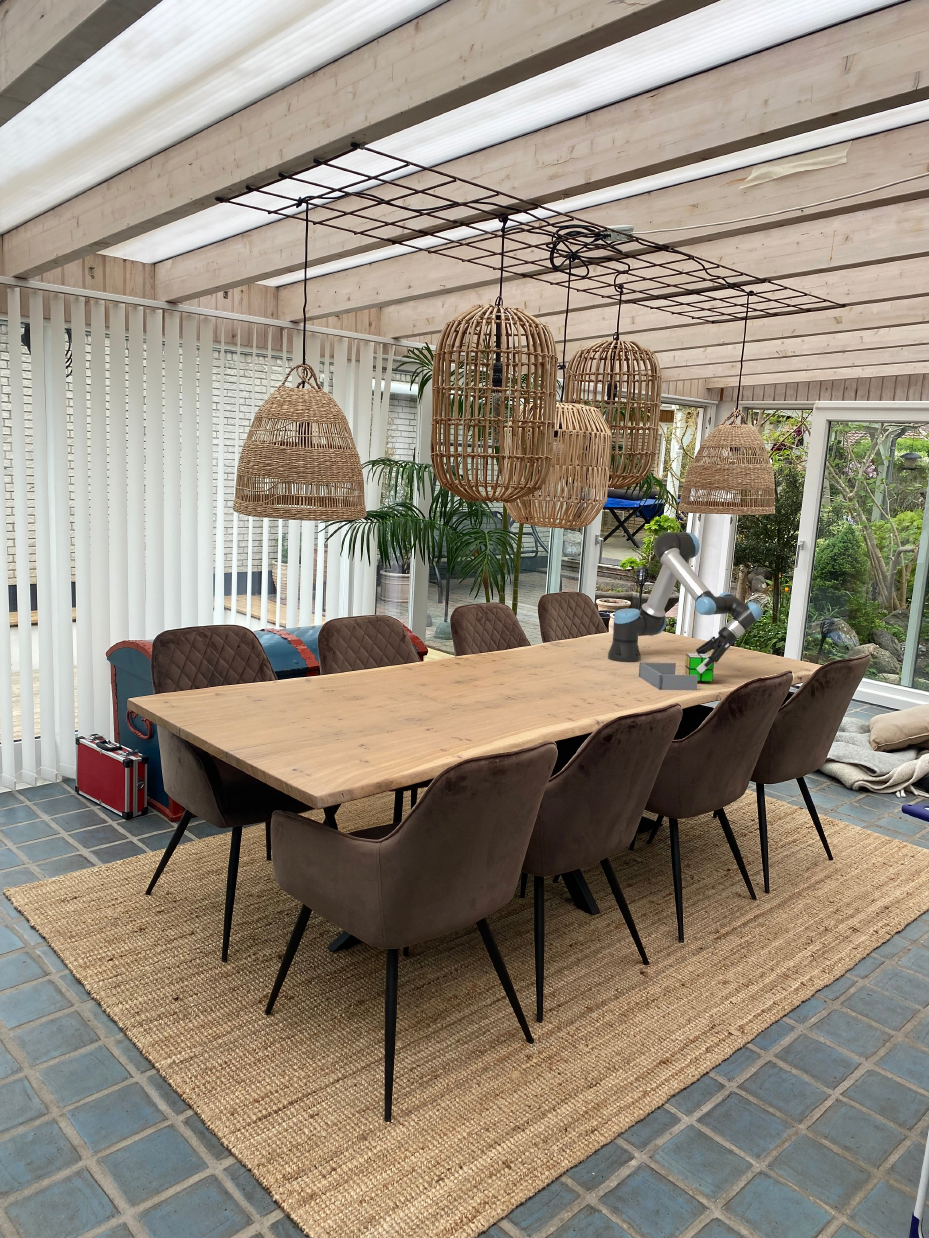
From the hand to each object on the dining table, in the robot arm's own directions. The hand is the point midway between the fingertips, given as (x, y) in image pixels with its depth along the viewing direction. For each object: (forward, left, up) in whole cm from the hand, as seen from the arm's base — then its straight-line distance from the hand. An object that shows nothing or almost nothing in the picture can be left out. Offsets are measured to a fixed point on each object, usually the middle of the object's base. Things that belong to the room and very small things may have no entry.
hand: (692, 668), depth 374 cm
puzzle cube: (0, +3, -5) cm, 6 cm away
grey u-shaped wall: (+3, -12, -6) cm, 14 cm away
